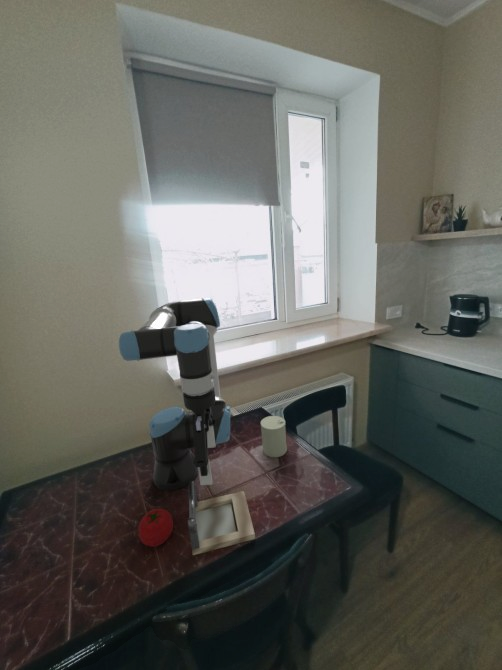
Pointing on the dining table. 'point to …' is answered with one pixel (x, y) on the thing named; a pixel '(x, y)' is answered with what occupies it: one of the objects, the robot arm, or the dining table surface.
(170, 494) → the dining table surface
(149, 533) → the tomato
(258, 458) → the dining table surface
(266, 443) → the can
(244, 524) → the beige flat square frame
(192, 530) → the grey curved bar
